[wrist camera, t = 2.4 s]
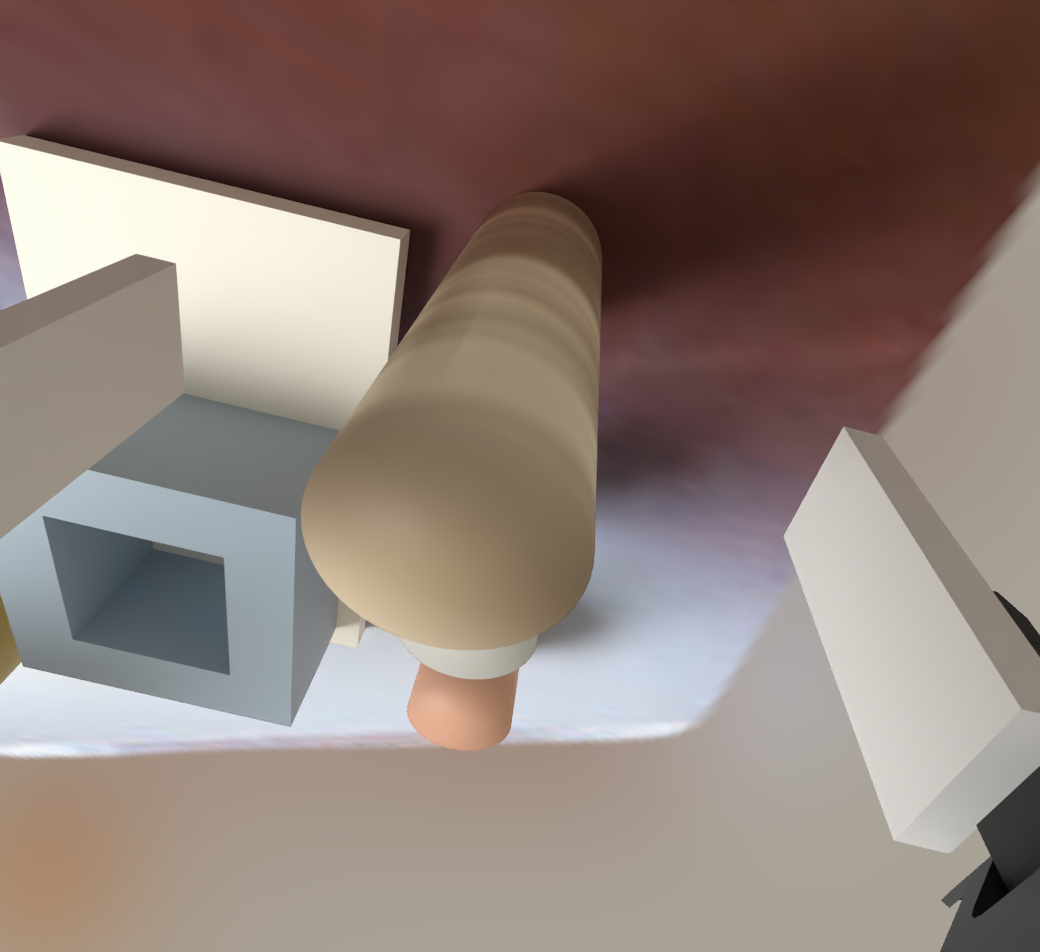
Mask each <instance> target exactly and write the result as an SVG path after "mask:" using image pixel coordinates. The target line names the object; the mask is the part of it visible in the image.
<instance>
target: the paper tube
mask: <svg viewBox="0 0 1040 952" xmlns="http://www.w3.org/2000/svg"><path fill="white" fill-rule="evenodd" d="M21 662H22V661H21V658H20V655H19V652H18V648H17V645H16V642H15V639H14V636H13V633H12V629H11V626H10V623H9V620H8V617H7V614H6V610H5V607H4V604H3V601H2V598H1V595H0V684H1V683H2V682H3V681H4V680H5V679H6V678H7V677H8V676H9V675H10V673H11V672H12V671H13V670H14V669H15V668H16V667H17V666H18V665H19V664H20V663H21Z"/></svg>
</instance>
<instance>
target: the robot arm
mask: <svg viewBox="0 0 1040 952" xmlns="http://www.w3.org/2000/svg"><path fill="white" fill-rule="evenodd" d="M184 392H185V383H184V369H183V355H182V341H181V326H180V312H179V298H178V284H177V270H176V263H173V262H168V261H164V260H160V259H156V258H152V257H148V256H144V255H140V254H134V255H132V256H129V257H127V258H125V259H122V260H120V261H118V262H115V263H113V264H110V265H108V266H106V267H103V268H101V269H99V270H96V271H94V272H91V273H89V274H87V275H84V276H82V277H80V278H77V279H75V280H72V281H70V282H68V283H65V284H63V285H61V286H58V287H56V288H53V289H51V290H49V291H46V292H44V293H42V294H39V295H37V296H35V297H32V298H30V299H27V300H25V301H23V302H20V303H18V304H16V305H13V306H11V307H8V308H6V309H4V310H1V311H0V539H1V538H2V537H4V536H5V535H6V534H7V533H9V532H10V531H11V530H12V529H14V528H15V527H16V526H17V525H19V524H20V523H21V522H22V521H24V520H25V519H26V518H28V517H29V516H30V515H31V514H33V513H34V512H35V511H36V510H38V509H39V508H40V507H41V506H43V505H44V504H45V503H46V502H48V501H49V500H50V499H51V498H53V497H54V496H55V495H56V494H58V493H59V492H60V491H61V490H63V489H64V488H65V487H66V486H68V485H69V484H70V483H71V482H73V481H74V480H75V479H76V478H78V477H79V476H80V475H82V474H83V473H84V472H85V471H87V470H88V469H89V468H90V467H92V466H93V465H94V464H95V463H97V462H98V461H99V460H100V459H102V458H103V457H104V456H105V455H107V454H108V453H109V452H110V451H112V450H113V449H114V448H115V447H117V446H118V445H119V444H120V443H122V442H123V441H124V440H125V439H127V438H128V437H129V436H130V435H132V434H133V433H134V432H136V431H137V430H138V429H139V428H141V427H142V426H143V425H144V424H146V423H147V422H148V421H149V420H151V419H152V418H153V417H154V416H156V415H157V414H158V413H159V412H161V411H162V410H163V409H164V408H166V407H167V406H168V405H169V404H171V403H172V402H173V401H174V400H176V399H177V398H178V397H179V396H181V395H182V394H183V393H184ZM784 539H785V542H786V544H787V547H788V550H789V553H790V555H791V558H792V561H793V564H794V566H795V569H796V572H797V575H798V577H799V580H800V583H801V585H802V588H803V591H804V594H805V597H806V599H807V602H808V605H809V607H810V611H811V613H812V616H813V618H814V621H815V624H816V627H817V630H818V632H819V635H820V638H821V641H822V644H823V646H824V649H825V652H826V655H827V657H828V660H829V663H830V666H831V668H832V671H833V674H834V677H835V679H836V682H837V685H838V688H839V691H840V693H841V696H842V698H843V702H844V704H845V707H846V710H847V712H848V715H849V718H850V721H851V724H852V726H853V729H854V732H855V734H856V737H857V740H858V743H859V746H860V748H861V751H862V754H863V757H864V759H865V762H866V765H867V768H868V770H869V773H870V776H871V779H872V782H873V784H874V787H875V790H876V793H877V795H878V798H879V801H880V804H881V806H882V809H883V811H884V814H885V817H886V820H887V823H888V826H889V828H890V831H891V834H892V837H893V839H894V841H899V842H903V843H907V844H911V845H916V846H920V847H924V848H928V849H933V850H937V851H941V852H946V853H950V852H952V851H953V850H954V849H955V848H956V847H957V846H958V845H959V844H960V843H961V842H962V841H964V840H965V839H966V838H967V837H968V836H969V835H970V834H971V833H972V832H973V831H974V830H975V829H977V828H978V830H979V832H980V834H981V836H982V838H983V840H984V842H985V845H986V847H987V849H988V851H989V853H990V855H991V856H990V857H989V858H988V859H987V860H986V861H985V862H984V863H982V864H981V865H980V866H979V867H978V868H977V869H975V870H974V871H973V872H972V873H971V874H970V875H969V876H967V877H966V878H965V879H964V880H963V881H962V882H961V883H959V884H958V885H957V886H956V887H955V888H954V889H953V890H951V891H950V892H949V893H948V894H947V895H946V896H945V897H944V898H943V899H942V900H941V901H942V902H944V903H945V904H946V905H947V906H948V907H949V908H950V907H951V906H952V905H953V904H954V903H956V902H957V901H958V900H962V902H961V904H960V906H959V909H958V911H957V913H956V915H955V918H954V920H953V922H952V925H951V927H950V930H949V932H948V934H947V937H946V939H945V942H944V944H943V946H942V948H941V951H940V952H1040V635H1039V634H1038V632H1037V631H1036V629H1035V628H1034V627H1033V626H1032V624H1031V623H1030V621H1029V620H1028V619H1027V618H1026V617H1025V616H1024V615H1023V614H1022V613H1021V612H1019V611H1018V610H1017V609H1016V608H1015V607H1014V606H1013V605H1012V604H1010V603H1009V602H1008V601H1007V600H1006V599H1005V598H1004V597H1002V596H1001V595H1000V594H999V593H998V592H995V591H992V590H991V588H990V587H989V585H988V584H987V583H986V581H985V580H984V579H983V577H982V576H981V574H980V573H979V572H978V570H977V569H976V567H975V566H974V565H973V563H972V562H971V560H970V559H969V557H968V556H967V555H966V553H965V552H964V551H963V549H962V548H961V546H960V545H959V544H958V542H957V541H956V539H955V538H954V537H953V535H952V534H951V532H950V531H949V530H948V528H947V527H946V525H945V524H944V523H943V521H942V520H941V518H940V517H939V516H938V514H937V513H936V511H935V510H934V509H933V507H932V506H931V504H930V503H929V502H928V500H927V499H926V497H925V496H924V495H923V493H922V492H921V491H920V489H919V488H918V486H917V485H916V483H915V482H914V481H913V479H912V478H911V476H910V475H909V474H908V472H907V471H906V469H905V468H904V467H903V465H902V464H901V462H900V461H899V460H898V458H897V457H896V455H895V454H894V453H893V451H892V450H891V448H890V447H889V446H888V444H887V443H886V441H885V440H884V439H883V437H882V436H880V435H875V434H871V433H867V432H863V431H859V430H855V429H851V428H847V427H843V428H842V430H841V432H840V434H839V436H838V438H837V439H836V441H835V443H834V445H833V447H832V449H831V450H830V452H829V454H828V456H827V458H826V460H825V461H824V463H823V465H822V467H821V469H820V471H819V472H818V474H817V476H816V478H815V480H814V482H813V483H812V485H811V487H810V489H809V491H808V493H807V494H806V496H805V498H804V500H803V502H802V503H801V505H800V507H799V509H798V511H797V513H796V514H795V516H794V518H793V520H792V522H791V524H790V525H789V527H788V529H787V531H786V533H785V535H784Z"/></svg>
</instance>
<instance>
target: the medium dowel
mask: <svg viewBox="0 0 1040 952" xmlns="http://www.w3.org/2000/svg"><path fill="white" fill-rule="evenodd" d="M399 639H400V641H401V642H402V644H403V645H404V647H405V648H406V649H407V650H408V651H409V652H410V653H411V654H412V655H413V656H414V657H415V658H416V659H417V660H419V661H420V662H421V663H423V664H425V665H426V666H428V667H430V668H432V669H434V670H436V671H438V672H441V673H443V674H446V675H450V676H453V677H458V678H463V679H491V678H496V677H500V676H503V675H506V674H509V673H511V672H513V671H515V670H517V669H518V668H520V667H521V666H522V665H524V664H525V663H526V662H527V661H528V660H529V659H530V657H531V656H532V654H533V653H534V650H535V648H536V645H537V640H538V636H535V637H533V638H531V639H529V640H526V641H523V642H520V643H517V644H514V645H511V646H506V647H501V648H496V649H487V650H451V649H442V648H437V647H431V646H426V645H423V644H419V643H415V642H412V641H409V640H406V639H403V638H401V637H399Z"/></svg>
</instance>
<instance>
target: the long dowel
mask: <svg viewBox="0 0 1040 952" xmlns="http://www.w3.org/2000/svg"><path fill="white" fill-rule="evenodd" d="M601 287H602V249H601V244H600V240H599V237H598V234H597V232H596V229H595V227H594V225H593V224H592V222H591V221H590V219H589V218H588V217H587V215H586V214H585V213H584V212H583V211H582V210H581V209H580V208H579V207H578V206H576V205H575V204H574V203H572V202H571V201H569V200H567V199H565V198H563V197H561V196H558V195H555V194H552V193H546V192H526V193H522V194H518V195H515V196H513V197H510V198H508V199H506V200H505V201H503V202H501V203H500V204H499V205H497V206H496V207H495V208H494V209H493V210H492V211H491V212H490V213H489V214H488V215H487V217H486V218H485V219H484V221H483V222H482V224H481V225H480V227H479V228H478V229H477V231H476V232H475V234H474V235H473V237H472V238H471V240H470V241H469V243H468V244H467V246H466V247H465V248H464V250H463V251H462V253H461V254H460V256H459V257H458V259H457V260H456V262H455V263H454V265H453V266H452V268H451V269H450V270H449V272H448V273H447V275H446V276H445V278H444V279H443V281H442V282H441V284H440V285H439V287H438V288H437V290H436V291H435V292H434V294H433V295H432V297H431V298H430V300H429V301H428V303H427V304H426V306H425V307H424V309H423V310H422V312H421V313H420V314H419V316H418V317H417V319H416V320H415V322H414V323H413V325H412V326H411V328H410V329H409V331H408V332H407V334H406V335H405V336H404V338H403V339H402V341H401V342H400V344H399V345H398V347H397V348H396V350H395V351H394V353H393V354H392V355H391V357H390V358H389V360H388V361H387V363H386V364H385V366H384V367H383V369H382V370H381V372H380V373H379V375H378V376H377V377H376V379H375V380H374V382H373V383H372V385H371V386H370V388H369V389H368V391H367V392H366V394H365V395H364V397H363V398H362V399H361V401H360V402H359V404H358V405H357V407H356V408H355V410H354V411H353V413H352V414H351V416H350V417H349V419H348V420H347V421H346V423H345V424H344V426H343V427H342V429H341V430H340V432H339V433H338V435H337V436H336V438H335V439H334V441H333V442H332V443H331V445H330V446H329V448H328V449H327V451H326V452H325V454H324V455H323V457H322V458H321V460H320V461H319V462H318V464H317V465H316V467H315V468H314V470H313V472H312V474H311V476H310V478H309V480H308V482H307V484H306V488H305V491H304V495H303V498H302V506H301V528H302V533H303V538H304V542H305V545H306V548H307V551H308V554H309V556H310V559H311V560H312V562H313V564H314V566H315V568H316V570H317V572H318V573H319V575H320V576H321V577H322V579H323V580H324V582H325V583H326V585H327V586H328V587H329V588H330V589H331V590H332V591H333V593H334V594H335V595H336V596H337V597H338V598H339V599H340V600H341V601H342V602H343V603H345V604H346V605H347V606H348V607H349V608H350V609H351V610H353V611H354V612H355V613H357V614H358V615H359V616H361V617H362V618H364V619H365V620H367V621H368V622H370V623H372V624H373V625H375V626H377V627H378V628H381V629H383V630H385V631H387V632H389V633H391V634H393V635H395V636H398V637H401V638H403V639H406V640H409V641H412V642H415V643H419V644H423V645H426V646H431V647H437V648H442V649H451V650H487V649H496V648H501V647H506V646H511V645H514V644H517V643H520V642H523V641H526V640H529V639H531V638H533V637H535V636H538V635H540V634H541V633H543V632H545V631H546V630H548V629H550V628H551V627H553V626H554V625H556V624H557V623H558V622H559V621H561V620H562V619H563V618H564V617H565V616H566V615H567V614H568V613H569V612H570V611H571V610H572V609H573V608H574V607H575V605H576V604H577V602H578V601H579V599H580V598H581V597H582V595H583V593H584V591H585V589H586V587H587V585H588V583H589V580H590V577H591V573H592V569H593V564H594V553H595V519H596V481H597V442H598V403H599V364H600V326H601Z"/></svg>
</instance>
